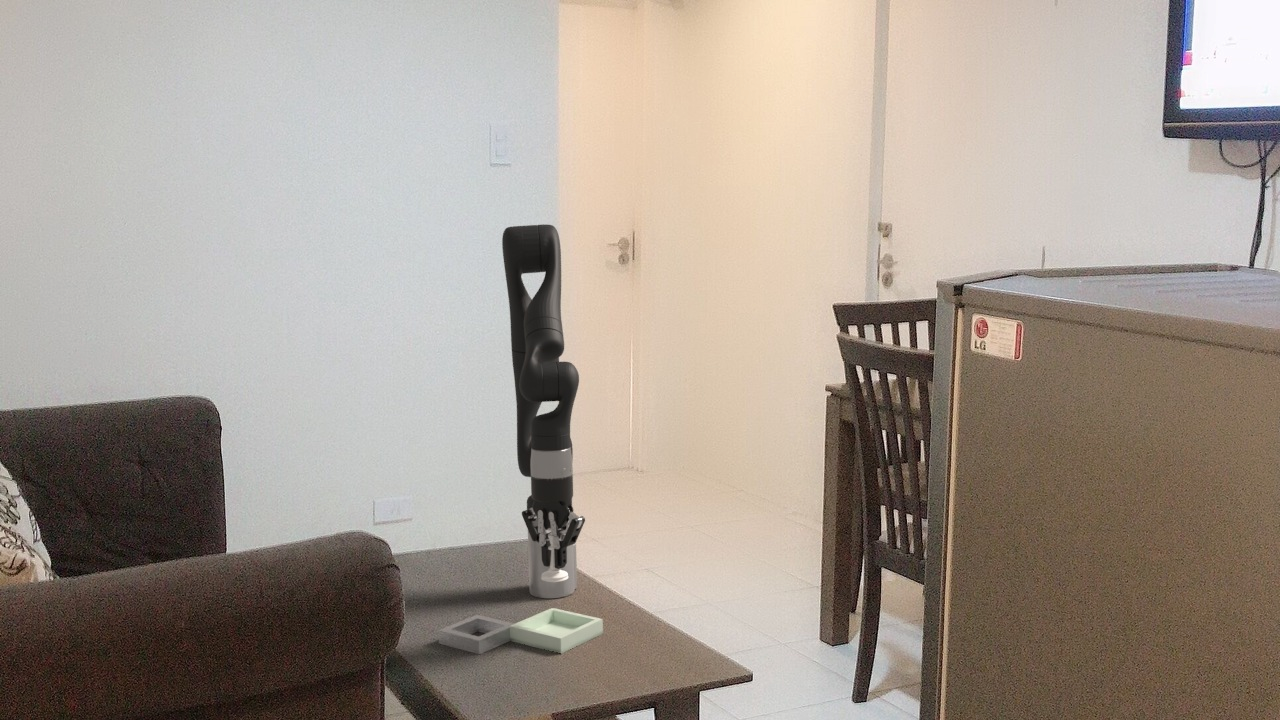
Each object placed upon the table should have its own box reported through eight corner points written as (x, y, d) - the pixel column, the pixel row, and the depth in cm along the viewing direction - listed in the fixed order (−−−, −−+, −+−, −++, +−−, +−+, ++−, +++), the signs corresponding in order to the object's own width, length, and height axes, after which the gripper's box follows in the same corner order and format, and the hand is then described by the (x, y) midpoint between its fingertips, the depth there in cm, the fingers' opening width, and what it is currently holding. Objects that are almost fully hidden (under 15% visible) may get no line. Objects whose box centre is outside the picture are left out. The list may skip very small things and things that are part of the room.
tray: (552, 622, 219) (552, 607, 219) (603, 633, 212) (602, 619, 212) (510, 640, 209) (509, 625, 209) (561, 653, 202) (560, 638, 202)
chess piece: (564, 582, 207) (562, 528, 205) (537, 581, 208) (535, 527, 206) (571, 574, 211) (569, 521, 210) (545, 573, 212) (543, 520, 211)
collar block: (477, 627, 217) (477, 614, 217) (517, 637, 211) (517, 624, 211) (439, 643, 209) (438, 630, 208) (479, 654, 203) (478, 640, 203)
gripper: (595, 473, 206) (597, 567, 208) (536, 465, 214) (539, 556, 216) (568, 480, 200) (570, 577, 202) (508, 472, 208) (511, 565, 210)
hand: (554, 566), depth 209 cm, fingers closed on chess piece
